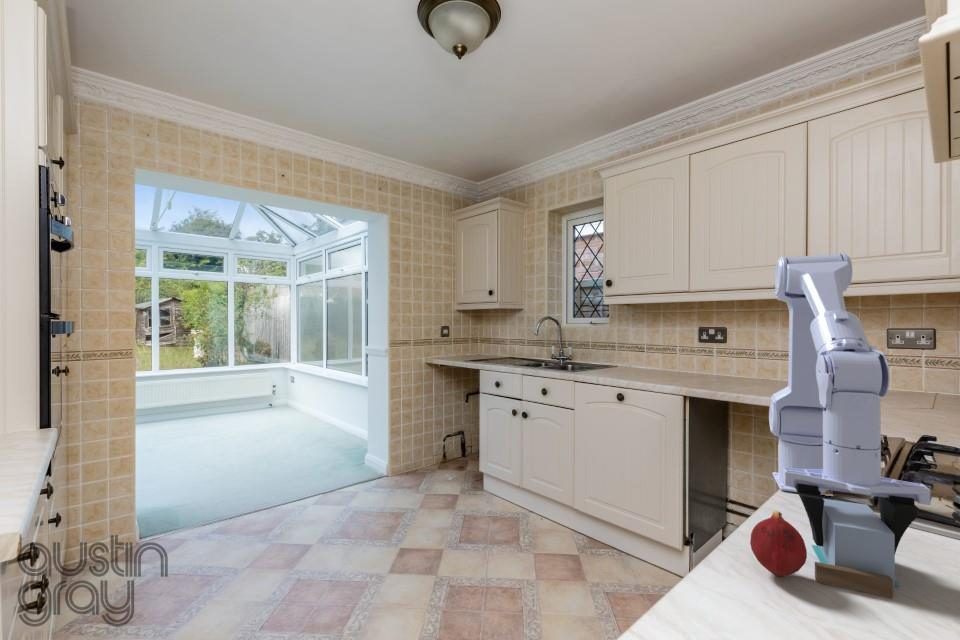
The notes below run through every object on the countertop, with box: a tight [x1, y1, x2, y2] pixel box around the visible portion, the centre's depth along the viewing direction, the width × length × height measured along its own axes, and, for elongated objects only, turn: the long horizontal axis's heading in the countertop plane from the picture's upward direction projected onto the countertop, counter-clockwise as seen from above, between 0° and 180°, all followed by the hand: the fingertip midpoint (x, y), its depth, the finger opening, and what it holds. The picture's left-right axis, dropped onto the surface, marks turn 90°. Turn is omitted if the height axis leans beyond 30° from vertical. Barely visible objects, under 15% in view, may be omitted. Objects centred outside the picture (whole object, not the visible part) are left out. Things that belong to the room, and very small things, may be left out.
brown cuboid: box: [814, 561, 894, 599], centre depth 52 cm, size 1×7×2 cm, turn 64°
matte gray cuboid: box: [819, 498, 896, 591], centre depth 57 cm, size 9×6×7 cm, turn 154°
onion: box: [749, 509, 808, 578], centre depth 54 cm, size 6×6×8 cm
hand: (851, 548), depth 57 cm, fingers open, 6 cm apart
